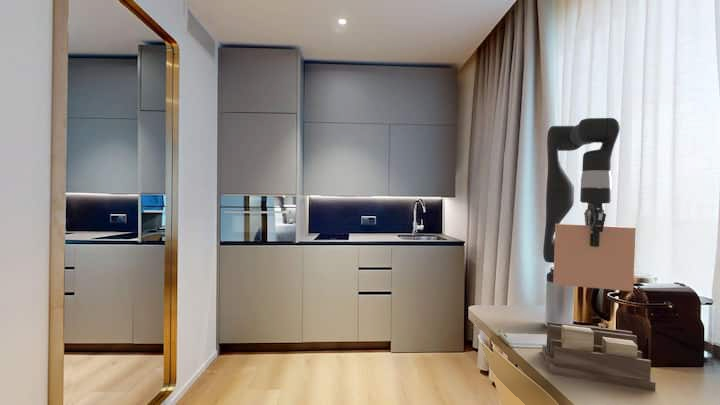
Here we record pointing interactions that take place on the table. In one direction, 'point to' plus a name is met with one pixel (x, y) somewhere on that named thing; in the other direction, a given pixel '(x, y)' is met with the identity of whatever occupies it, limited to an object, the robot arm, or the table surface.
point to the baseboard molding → (524, 340)
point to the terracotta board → (594, 257)
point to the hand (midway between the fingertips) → (593, 245)
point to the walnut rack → (597, 359)
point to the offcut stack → (585, 340)
